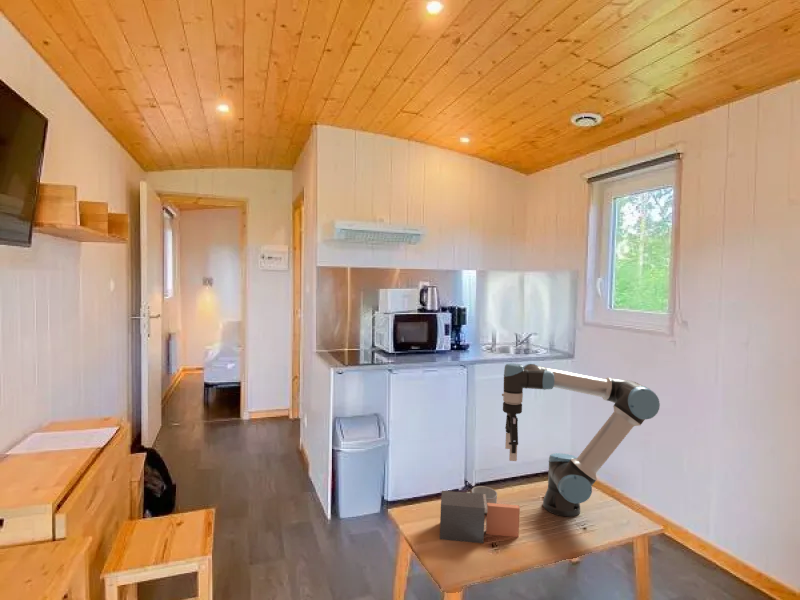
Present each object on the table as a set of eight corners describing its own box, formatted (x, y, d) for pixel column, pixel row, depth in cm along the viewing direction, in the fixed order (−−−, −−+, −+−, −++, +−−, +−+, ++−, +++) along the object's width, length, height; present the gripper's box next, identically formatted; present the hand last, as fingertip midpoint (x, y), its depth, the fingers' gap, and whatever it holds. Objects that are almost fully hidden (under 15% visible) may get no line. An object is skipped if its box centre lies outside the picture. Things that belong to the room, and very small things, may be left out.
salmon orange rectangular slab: (517, 533, 177) (518, 505, 177) (518, 537, 175) (519, 508, 174) (485, 530, 179) (486, 502, 178) (486, 534, 176) (487, 505, 176)
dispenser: (484, 526, 181) (485, 494, 181) (486, 543, 170) (487, 508, 169) (440, 522, 183) (441, 490, 183) (439, 539, 172) (440, 504, 171)
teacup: (495, 505, 200) (495, 486, 200) (498, 517, 189) (498, 498, 189) (462, 502, 202) (463, 484, 201) (463, 514, 191) (464, 495, 191)
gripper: (499, 394, 199) (498, 443, 200) (506, 409, 175) (504, 465, 175) (517, 395, 199) (516, 444, 199) (527, 410, 174) (525, 466, 174)
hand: (510, 454), depth 187 cm, fingers open, 13 cm apart
